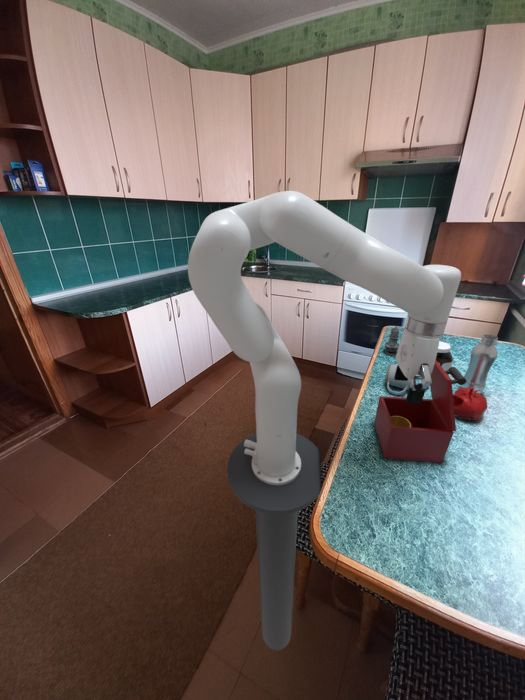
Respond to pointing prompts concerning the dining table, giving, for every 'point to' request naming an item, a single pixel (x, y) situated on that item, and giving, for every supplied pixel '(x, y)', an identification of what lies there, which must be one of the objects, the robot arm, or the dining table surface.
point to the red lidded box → (412, 430)
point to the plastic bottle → (481, 363)
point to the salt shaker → (392, 343)
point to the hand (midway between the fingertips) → (406, 390)
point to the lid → (445, 391)
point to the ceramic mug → (397, 383)
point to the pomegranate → (469, 403)
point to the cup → (400, 421)
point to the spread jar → (444, 356)
